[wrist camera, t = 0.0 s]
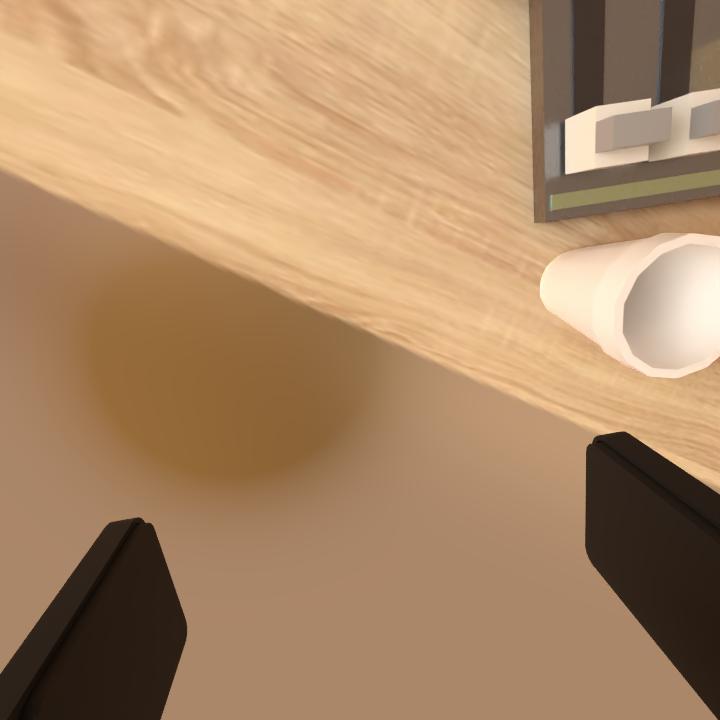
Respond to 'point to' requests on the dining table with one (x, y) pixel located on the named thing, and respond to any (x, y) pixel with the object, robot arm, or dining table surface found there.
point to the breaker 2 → (690, 126)
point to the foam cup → (643, 300)
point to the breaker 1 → (614, 135)
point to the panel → (617, 95)
